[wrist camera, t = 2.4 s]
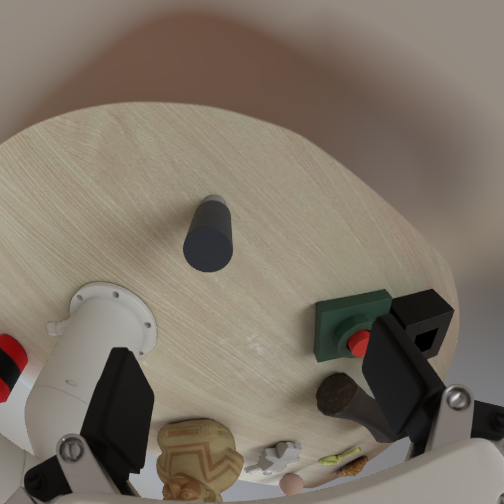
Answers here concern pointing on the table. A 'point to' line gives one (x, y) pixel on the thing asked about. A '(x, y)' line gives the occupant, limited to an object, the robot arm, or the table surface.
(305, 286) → the table surface
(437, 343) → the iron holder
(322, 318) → the station
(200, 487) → the ceramic vessel
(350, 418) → the dark brown bone
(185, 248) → the soldering iron
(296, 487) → the egg
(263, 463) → the white branched piece
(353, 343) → the power button
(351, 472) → the croissant
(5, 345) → the soda can
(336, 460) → the yellow-green curved piece
